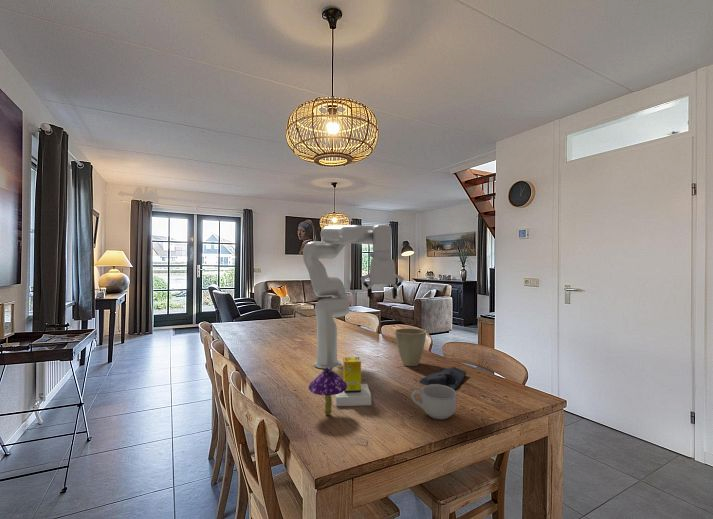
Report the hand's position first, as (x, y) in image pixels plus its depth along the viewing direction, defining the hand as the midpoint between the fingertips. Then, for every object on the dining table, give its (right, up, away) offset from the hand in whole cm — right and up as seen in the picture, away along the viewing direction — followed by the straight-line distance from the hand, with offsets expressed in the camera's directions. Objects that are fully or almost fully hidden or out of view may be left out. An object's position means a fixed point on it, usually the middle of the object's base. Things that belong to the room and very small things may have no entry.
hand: (382, 298), depth 136 cm
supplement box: (-12, -31, -14) cm, 36 cm away
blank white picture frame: (-12, -34, -14) cm, 39 cm away
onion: (-17, -35, +3) cm, 39 cm away
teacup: (+14, -34, -27) cm, 46 cm away
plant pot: (+16, -35, +27) cm, 47 cm away
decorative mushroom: (-19, -34, -27) cm, 48 cm away
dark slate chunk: (+27, -35, +5) cm, 44 cm away
